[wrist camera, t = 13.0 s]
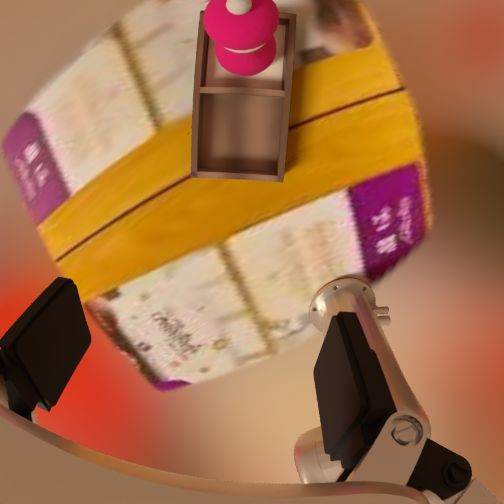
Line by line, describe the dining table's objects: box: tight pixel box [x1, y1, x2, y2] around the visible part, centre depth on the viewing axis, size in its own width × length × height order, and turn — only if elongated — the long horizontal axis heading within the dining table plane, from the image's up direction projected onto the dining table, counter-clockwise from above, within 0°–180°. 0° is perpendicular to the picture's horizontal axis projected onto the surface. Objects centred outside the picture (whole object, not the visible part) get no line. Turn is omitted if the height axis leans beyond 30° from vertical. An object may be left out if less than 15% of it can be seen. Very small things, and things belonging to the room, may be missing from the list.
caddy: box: [191, 11, 296, 182], centre depth 32 cm, size 12×23×4 cm, turn 176°
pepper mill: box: [203, 0, 279, 76], centre depth 22 cm, size 7×7×20 cm
